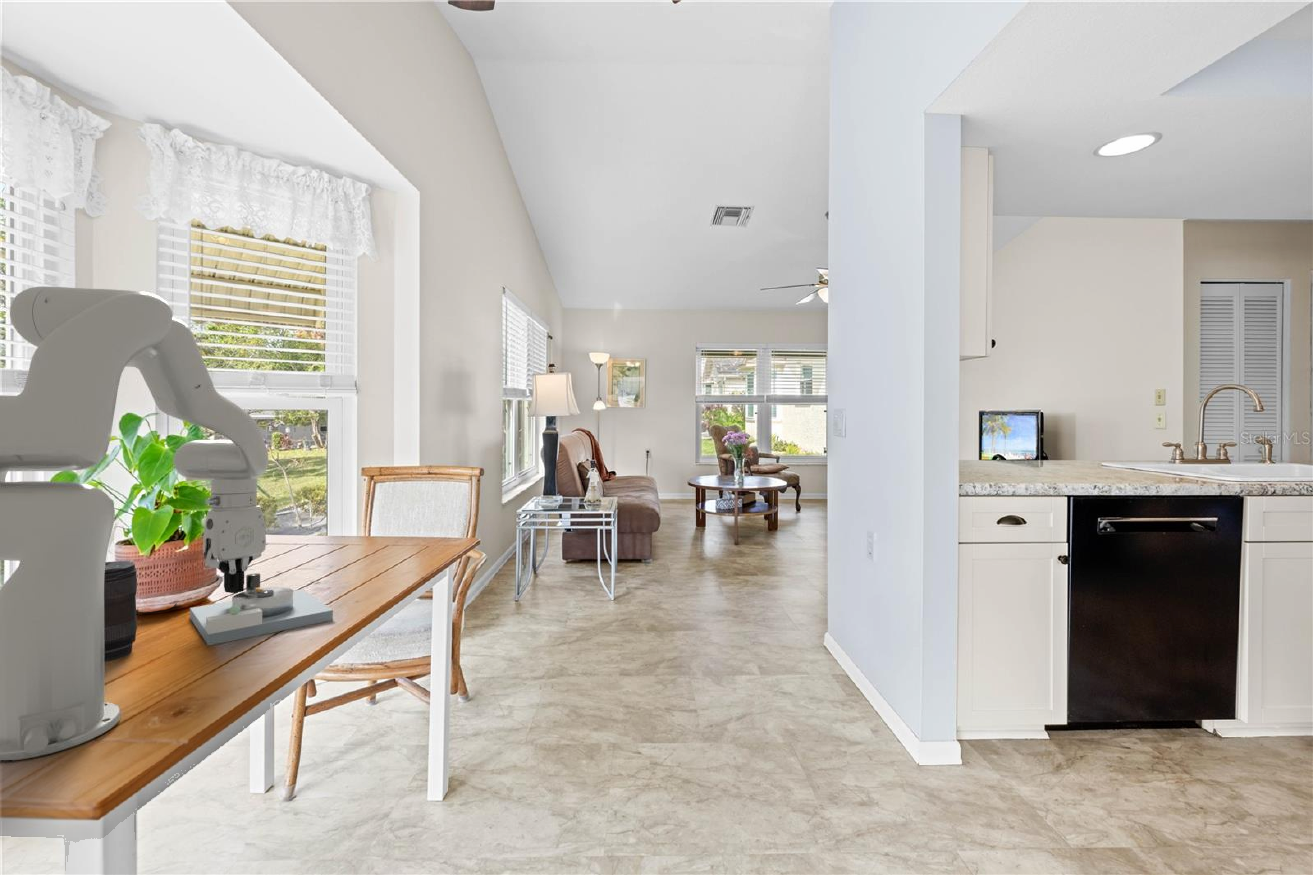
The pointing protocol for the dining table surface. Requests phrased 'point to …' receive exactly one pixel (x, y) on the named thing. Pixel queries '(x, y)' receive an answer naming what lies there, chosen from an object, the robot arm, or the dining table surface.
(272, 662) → the dining table surface
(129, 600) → the camera lens
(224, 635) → the level board
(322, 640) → the dining table surface
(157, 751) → the dining table surface
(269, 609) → the dial
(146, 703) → the dining table surface
